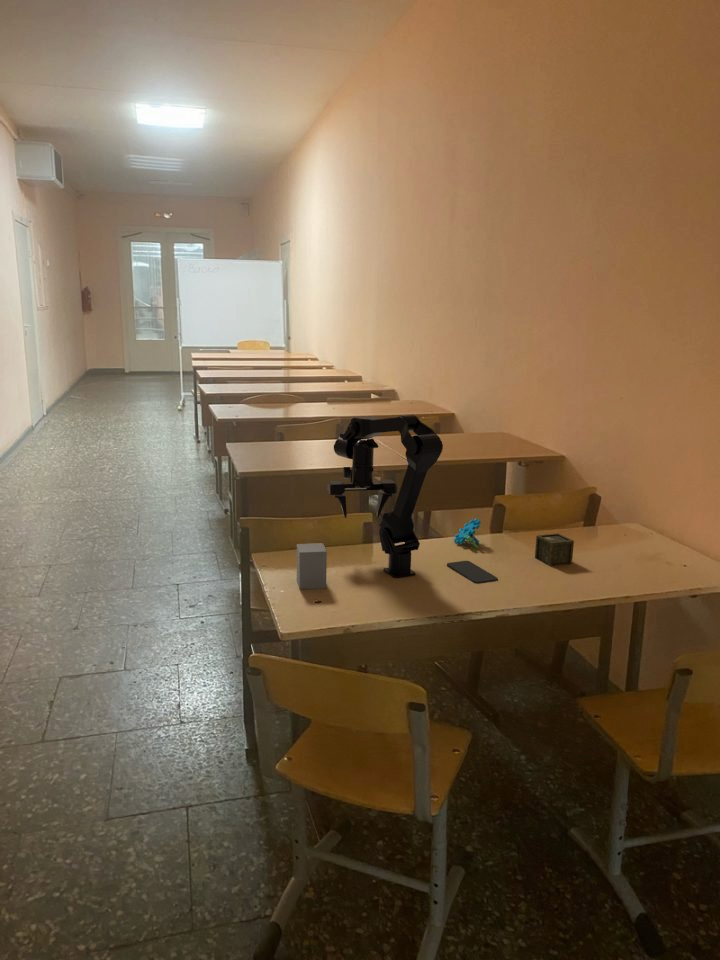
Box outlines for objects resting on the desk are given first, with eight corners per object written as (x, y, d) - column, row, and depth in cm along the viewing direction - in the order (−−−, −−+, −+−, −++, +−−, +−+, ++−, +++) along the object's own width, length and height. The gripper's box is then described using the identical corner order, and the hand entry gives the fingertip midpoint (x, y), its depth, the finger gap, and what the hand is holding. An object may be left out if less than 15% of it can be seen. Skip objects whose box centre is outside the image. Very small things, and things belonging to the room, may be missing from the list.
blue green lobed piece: (452, 532, 218) (476, 512, 214) (464, 545, 219) (489, 525, 215) (452, 547, 207) (478, 527, 204) (466, 561, 208) (492, 541, 205)
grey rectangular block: (322, 578, 180) (322, 543, 178) (326, 588, 174) (326, 551, 172) (296, 579, 179) (296, 544, 177) (299, 589, 173) (299, 552, 171)
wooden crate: (534, 559, 201) (536, 535, 199) (556, 557, 203) (558, 533, 201) (549, 568, 194) (551, 543, 192) (571, 565, 196) (574, 540, 195)
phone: (475, 582, 179) (444, 563, 193) (475, 585, 180) (444, 566, 193) (499, 578, 182) (468, 560, 196) (499, 581, 183) (468, 562, 196)
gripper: (389, 456, 203) (387, 508, 207) (324, 457, 200) (324, 510, 203) (398, 464, 192) (396, 519, 196) (330, 465, 189) (330, 521, 192)
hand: (361, 517), depth 197 cm, fingers open, 9 cm apart
